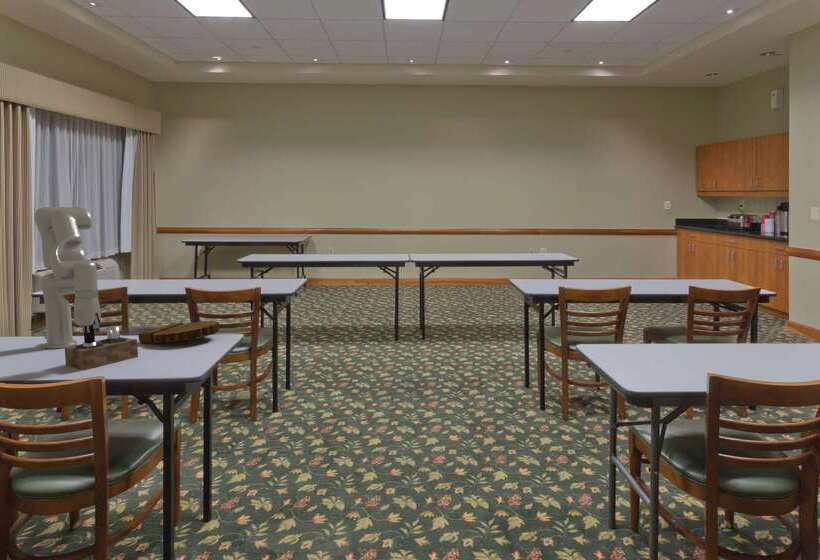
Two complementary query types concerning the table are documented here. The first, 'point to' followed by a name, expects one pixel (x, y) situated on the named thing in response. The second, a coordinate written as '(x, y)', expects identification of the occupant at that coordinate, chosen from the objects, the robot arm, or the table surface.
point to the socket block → (101, 353)
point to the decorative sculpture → (179, 332)
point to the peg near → (89, 344)
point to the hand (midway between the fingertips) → (89, 342)
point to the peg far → (113, 333)
